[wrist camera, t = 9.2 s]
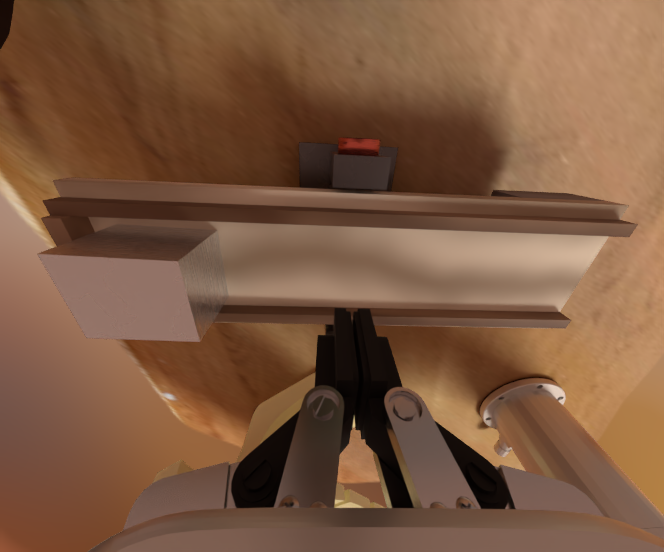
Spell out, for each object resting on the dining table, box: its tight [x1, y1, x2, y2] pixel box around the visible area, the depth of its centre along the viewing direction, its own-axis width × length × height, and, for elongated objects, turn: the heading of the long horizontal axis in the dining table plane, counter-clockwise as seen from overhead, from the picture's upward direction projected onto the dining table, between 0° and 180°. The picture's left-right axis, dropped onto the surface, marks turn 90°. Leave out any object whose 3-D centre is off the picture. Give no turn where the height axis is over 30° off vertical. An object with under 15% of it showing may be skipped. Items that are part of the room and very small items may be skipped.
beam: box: [41, 178, 638, 328], centre depth 17 cm, size 10×34×6 cm, turn 87°
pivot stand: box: [299, 138, 398, 336], centre depth 19 cm, size 16×8×9 cm, turn 177°
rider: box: [38, 224, 229, 342], centre depth 14 cm, size 5×6×4 cm
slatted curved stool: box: [152, 372, 385, 508], centre depth 30 cm, size 30×16×18 cm, turn 39°
